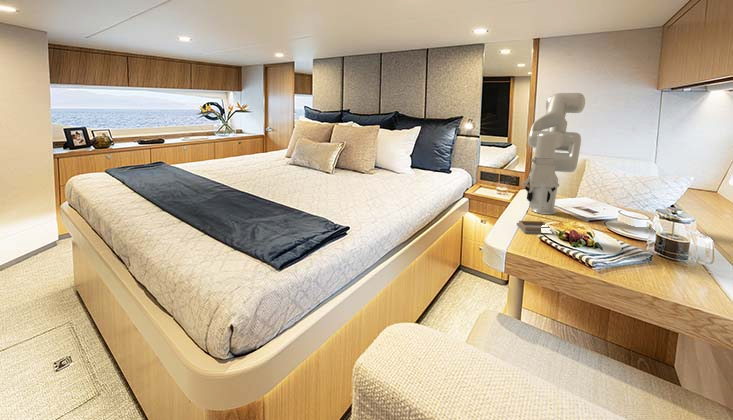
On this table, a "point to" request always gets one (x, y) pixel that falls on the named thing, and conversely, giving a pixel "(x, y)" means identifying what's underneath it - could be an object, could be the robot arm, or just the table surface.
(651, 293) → the table surface
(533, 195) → the skincare box
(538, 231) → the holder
